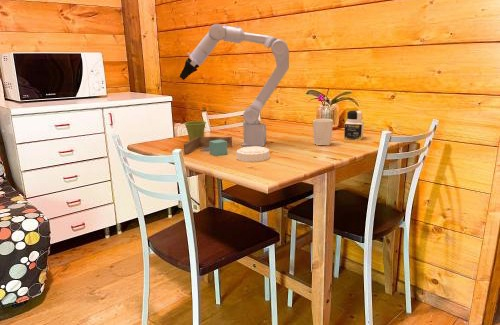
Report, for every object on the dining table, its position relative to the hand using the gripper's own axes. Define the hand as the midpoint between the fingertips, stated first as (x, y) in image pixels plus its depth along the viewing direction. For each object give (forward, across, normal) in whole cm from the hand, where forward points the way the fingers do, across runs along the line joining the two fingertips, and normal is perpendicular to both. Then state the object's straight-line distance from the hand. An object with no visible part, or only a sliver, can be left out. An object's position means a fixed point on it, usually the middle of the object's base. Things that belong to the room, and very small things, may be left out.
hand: (182, 76), depth 154 cm
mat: (+13, +13, +26) cm, 32 cm away
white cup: (-17, +13, +60) cm, 64 cm away
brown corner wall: (+14, +15, +25) cm, 32 cm away
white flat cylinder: (+2, +30, +36) cm, 48 cm away
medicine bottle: (-27, +4, +73) cm, 78 cm away
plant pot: (+20, -3, +22) cm, 30 cm away
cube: (+10, +22, +28) cm, 37 cm away
